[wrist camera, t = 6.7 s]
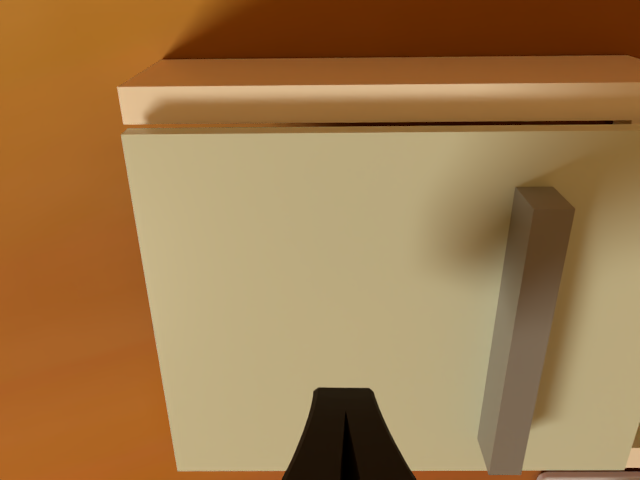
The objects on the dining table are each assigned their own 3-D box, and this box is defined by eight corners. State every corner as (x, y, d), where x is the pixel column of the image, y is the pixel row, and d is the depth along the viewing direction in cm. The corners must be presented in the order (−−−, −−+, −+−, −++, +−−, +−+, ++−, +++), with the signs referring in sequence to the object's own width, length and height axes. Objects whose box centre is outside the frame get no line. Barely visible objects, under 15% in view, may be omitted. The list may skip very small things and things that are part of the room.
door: (616, 456, 20) (646, 507, 18) (181, 457, 20) (167, 508, 19) (717, 123, 15) (774, 147, 13) (127, 128, 15) (100, 152, 13)
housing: (922, 384, 25) (1037, 467, 21) (203, 387, 25) (180, 468, 21) (1117, 50, 19) (1334, 76, 15) (160, 59, 19) (117, 86, 15)
